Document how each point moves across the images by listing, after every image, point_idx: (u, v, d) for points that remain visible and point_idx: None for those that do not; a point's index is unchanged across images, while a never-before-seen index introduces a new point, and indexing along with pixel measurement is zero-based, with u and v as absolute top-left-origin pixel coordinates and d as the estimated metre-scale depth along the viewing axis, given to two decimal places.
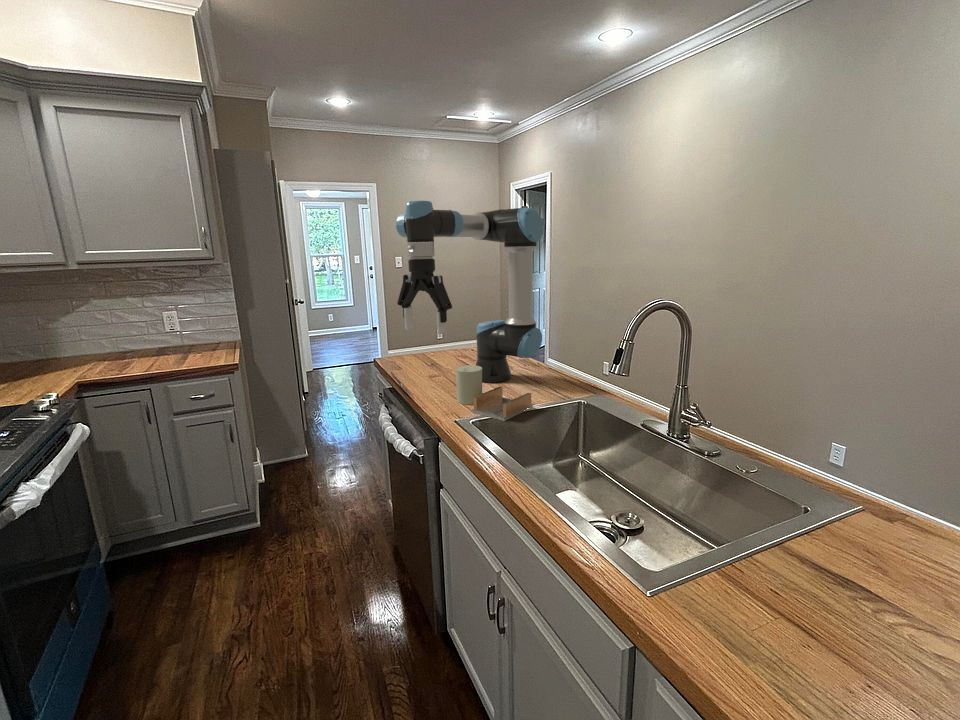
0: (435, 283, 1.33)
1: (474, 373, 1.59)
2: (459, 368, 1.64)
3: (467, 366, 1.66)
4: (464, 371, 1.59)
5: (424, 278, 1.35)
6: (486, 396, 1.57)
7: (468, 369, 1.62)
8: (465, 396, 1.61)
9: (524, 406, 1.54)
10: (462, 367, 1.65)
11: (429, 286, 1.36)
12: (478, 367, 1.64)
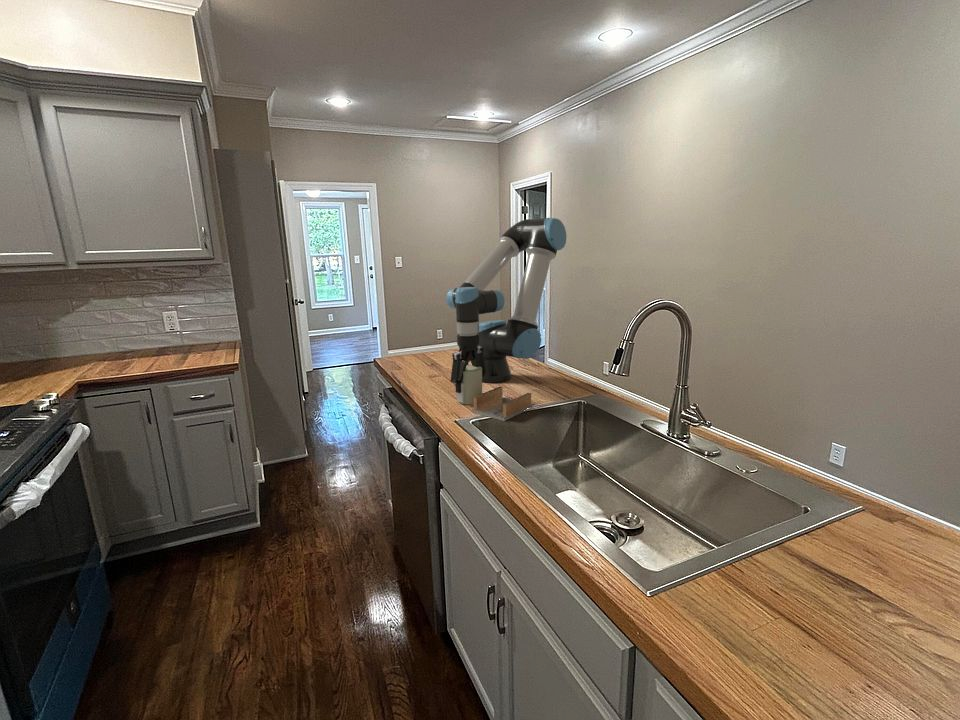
0: None
1: (474, 373, 1.59)
2: None
3: (467, 366, 1.66)
4: (464, 371, 1.59)
5: None
6: (486, 396, 1.57)
7: (468, 369, 1.62)
8: (465, 396, 1.61)
9: (524, 406, 1.54)
10: None
11: (463, 359, 1.60)
12: (478, 367, 1.64)
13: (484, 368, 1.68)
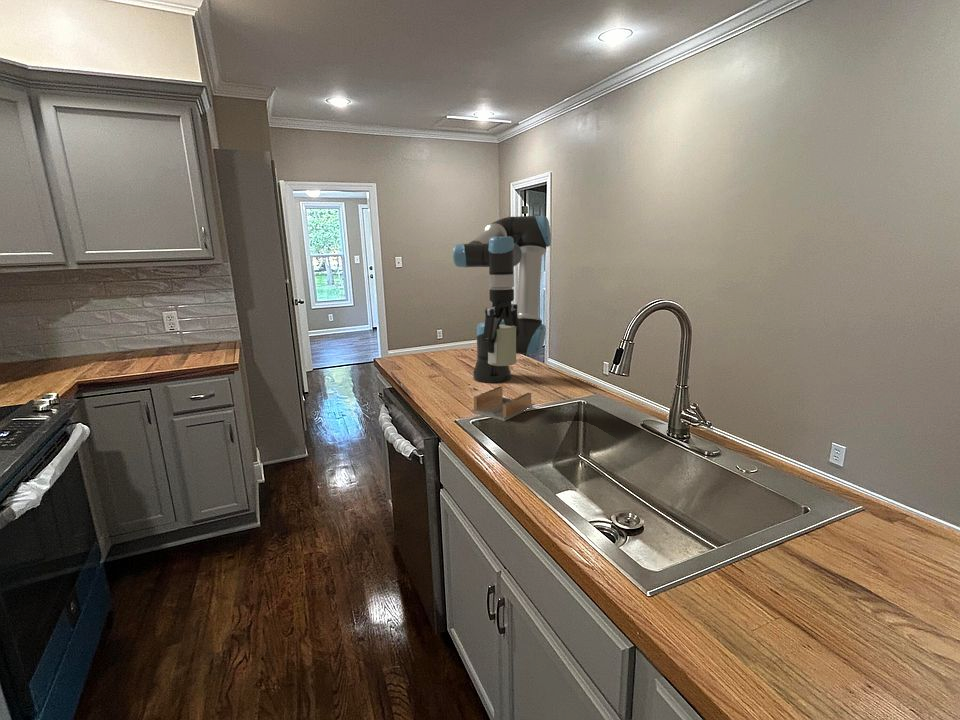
0: None
1: (508, 331, 1.45)
2: None
3: (499, 325, 1.52)
4: (497, 329, 1.46)
5: None
6: (486, 396, 1.57)
7: (501, 327, 1.48)
8: (498, 356, 1.47)
9: (524, 406, 1.54)
10: None
11: (496, 316, 1.47)
12: (512, 326, 1.50)
13: (517, 328, 1.54)
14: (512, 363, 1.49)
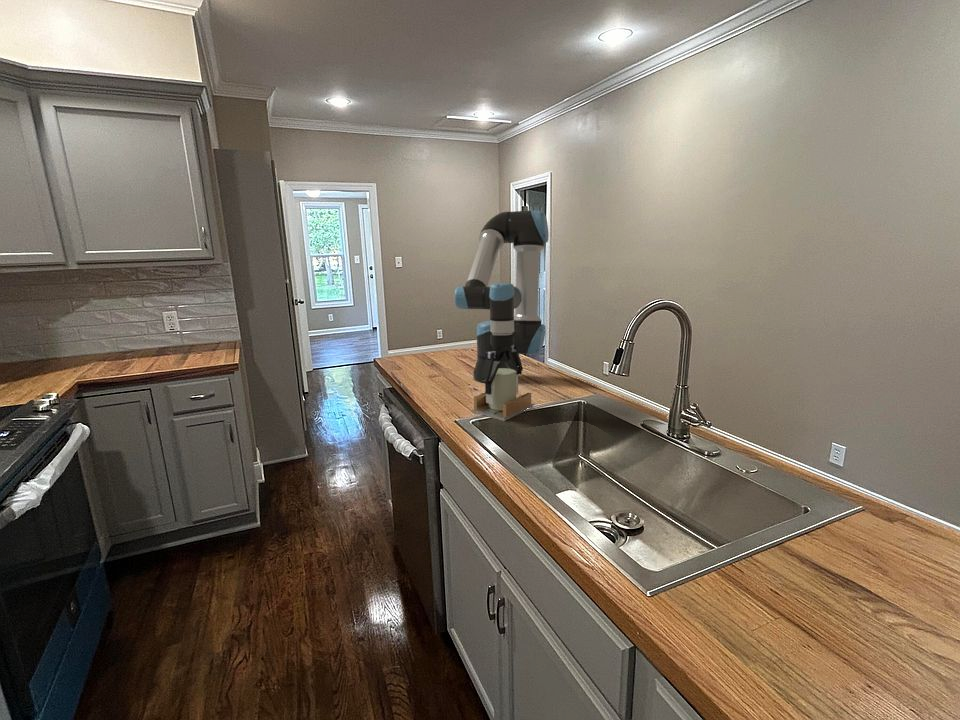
0: None
1: (508, 377, 1.49)
2: None
3: (500, 369, 1.56)
4: (498, 375, 1.49)
5: None
6: None
7: (502, 372, 1.52)
8: (498, 401, 1.51)
9: (524, 406, 1.54)
10: None
11: (496, 359, 1.50)
12: (512, 370, 1.54)
13: (520, 366, 1.58)
14: None
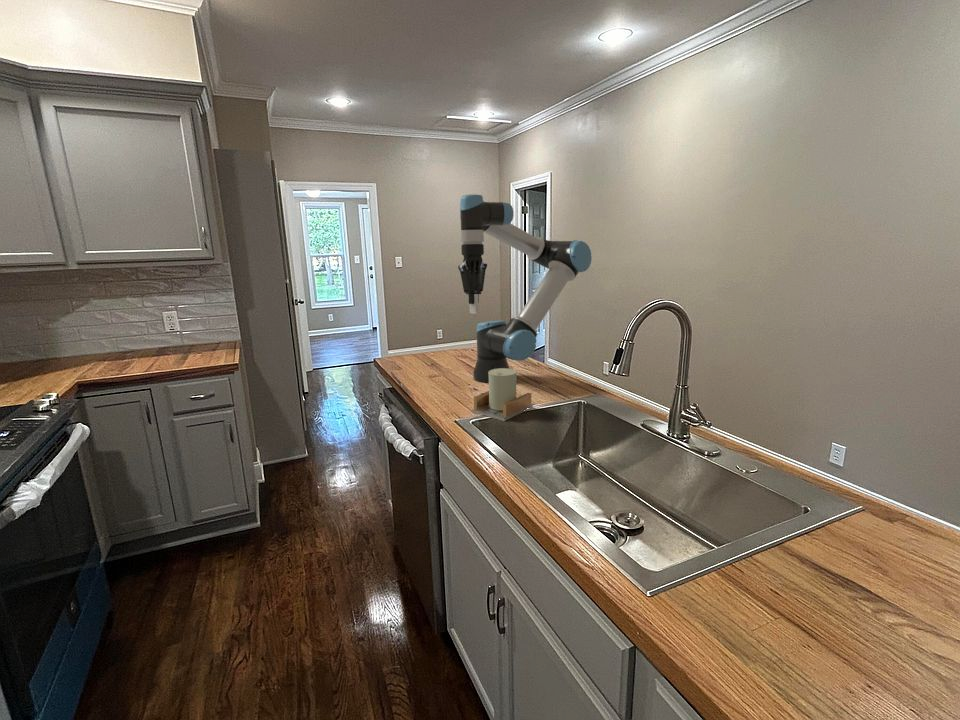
0: None
1: (508, 377, 1.49)
2: (492, 371, 1.53)
3: (500, 369, 1.56)
4: (498, 375, 1.49)
5: None
6: (486, 396, 1.57)
7: (502, 373, 1.52)
8: (498, 401, 1.51)
9: (524, 406, 1.54)
10: (495, 370, 1.55)
11: None
12: (512, 370, 1.54)
13: (482, 285, 1.65)
14: None
